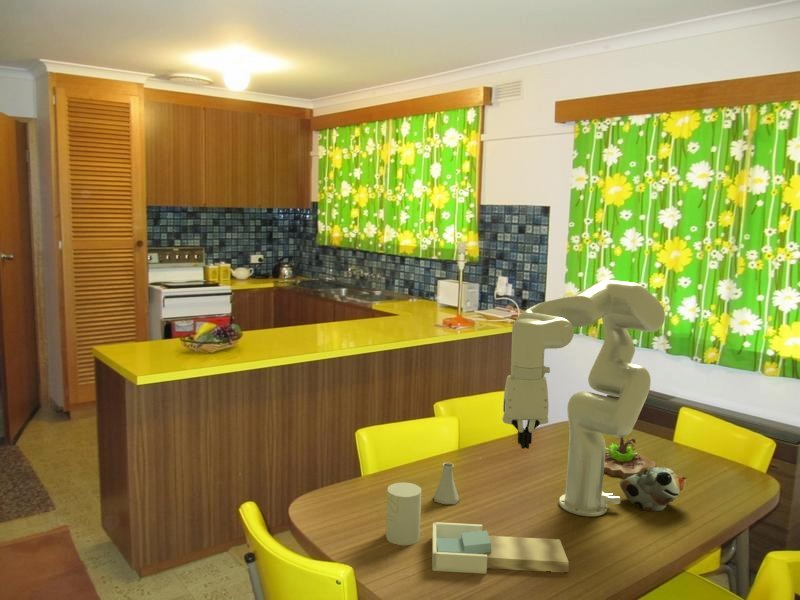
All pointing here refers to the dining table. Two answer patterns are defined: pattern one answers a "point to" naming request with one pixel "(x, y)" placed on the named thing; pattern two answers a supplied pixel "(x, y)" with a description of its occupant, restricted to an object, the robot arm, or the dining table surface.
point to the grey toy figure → (653, 488)
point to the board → (527, 554)
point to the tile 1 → (450, 545)
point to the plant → (625, 460)
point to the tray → (456, 560)
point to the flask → (446, 487)
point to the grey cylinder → (403, 513)
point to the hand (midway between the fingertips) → (524, 446)
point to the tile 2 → (476, 542)
